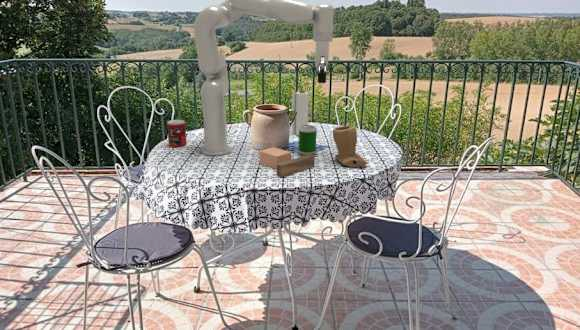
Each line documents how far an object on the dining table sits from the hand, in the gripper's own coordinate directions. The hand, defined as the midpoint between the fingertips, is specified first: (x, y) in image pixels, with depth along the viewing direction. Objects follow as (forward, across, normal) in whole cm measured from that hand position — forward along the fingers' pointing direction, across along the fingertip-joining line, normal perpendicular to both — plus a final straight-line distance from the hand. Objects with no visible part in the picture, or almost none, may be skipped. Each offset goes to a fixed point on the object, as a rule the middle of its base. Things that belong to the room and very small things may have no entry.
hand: (321, 81), depth 182 cm
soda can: (+31, -1, -5) cm, 32 cm away
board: (+31, +22, -9) cm, 40 cm away
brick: (+32, +15, -18) cm, 39 cm away
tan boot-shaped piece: (+32, +11, +11) cm, 35 cm away
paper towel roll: (+31, -33, -10) cm, 46 cm away
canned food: (+31, -9, -65) cm, 73 cm away
